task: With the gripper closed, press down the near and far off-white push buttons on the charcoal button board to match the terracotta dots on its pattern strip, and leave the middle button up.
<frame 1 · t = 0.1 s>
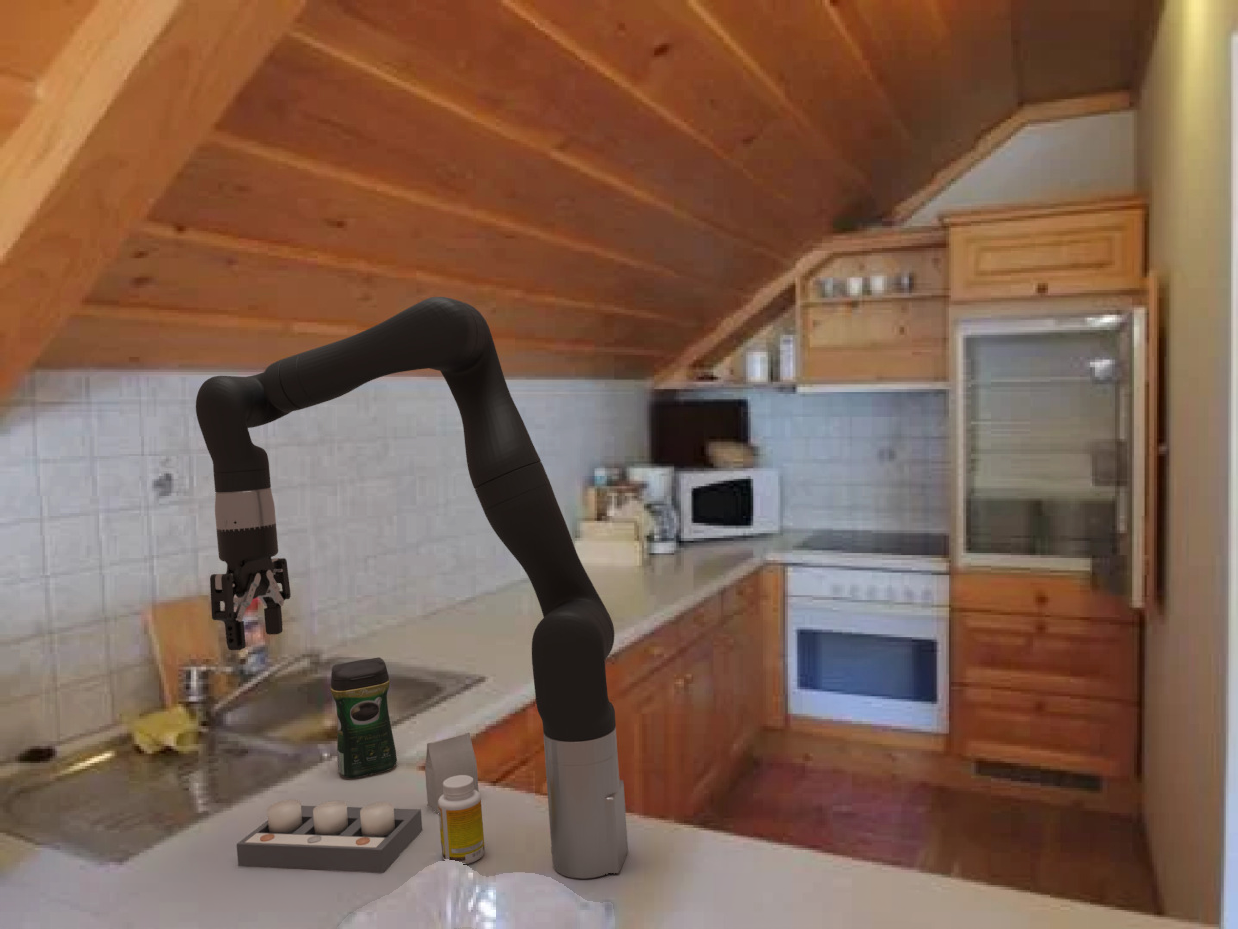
hand: (256, 641, 123), 29 cm above the countertop, tool pointing down, fingers open, 8 cm apart
coffee jar: (367, 770, 153), on the countertop
grey carton box: (453, 804, 136), on the countertop
middle button: (330, 818, 124), point 4 cm above the countertop, slide at 0.0 cm
supplement bottle: (463, 858, 119), on the countertop
far button: (284, 817, 125), point 4 cm above the countertop, slide at 0.0 cm
near button: (377, 820, 123), point 4 cm above the countertop, slide at 0.0 cm
button board: (333, 847, 124), on the countertop
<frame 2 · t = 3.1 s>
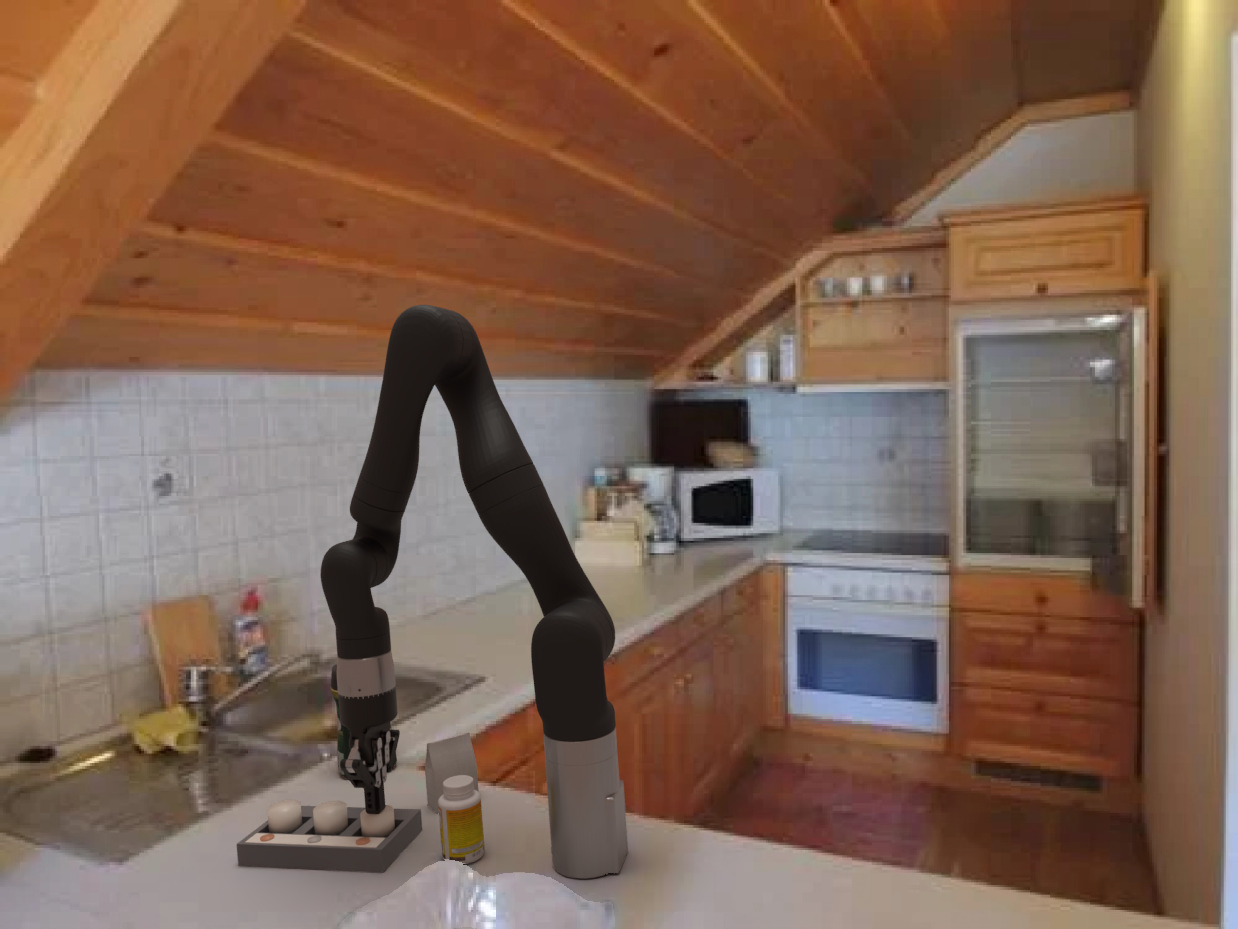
hand: (375, 811, 122), 5 cm above the countertop, tool pointing down, fingers closed
near button: (377, 822, 123), point 4 cm above the countertop, slide at 0.4 cm, touching gripper
everything else where it was.
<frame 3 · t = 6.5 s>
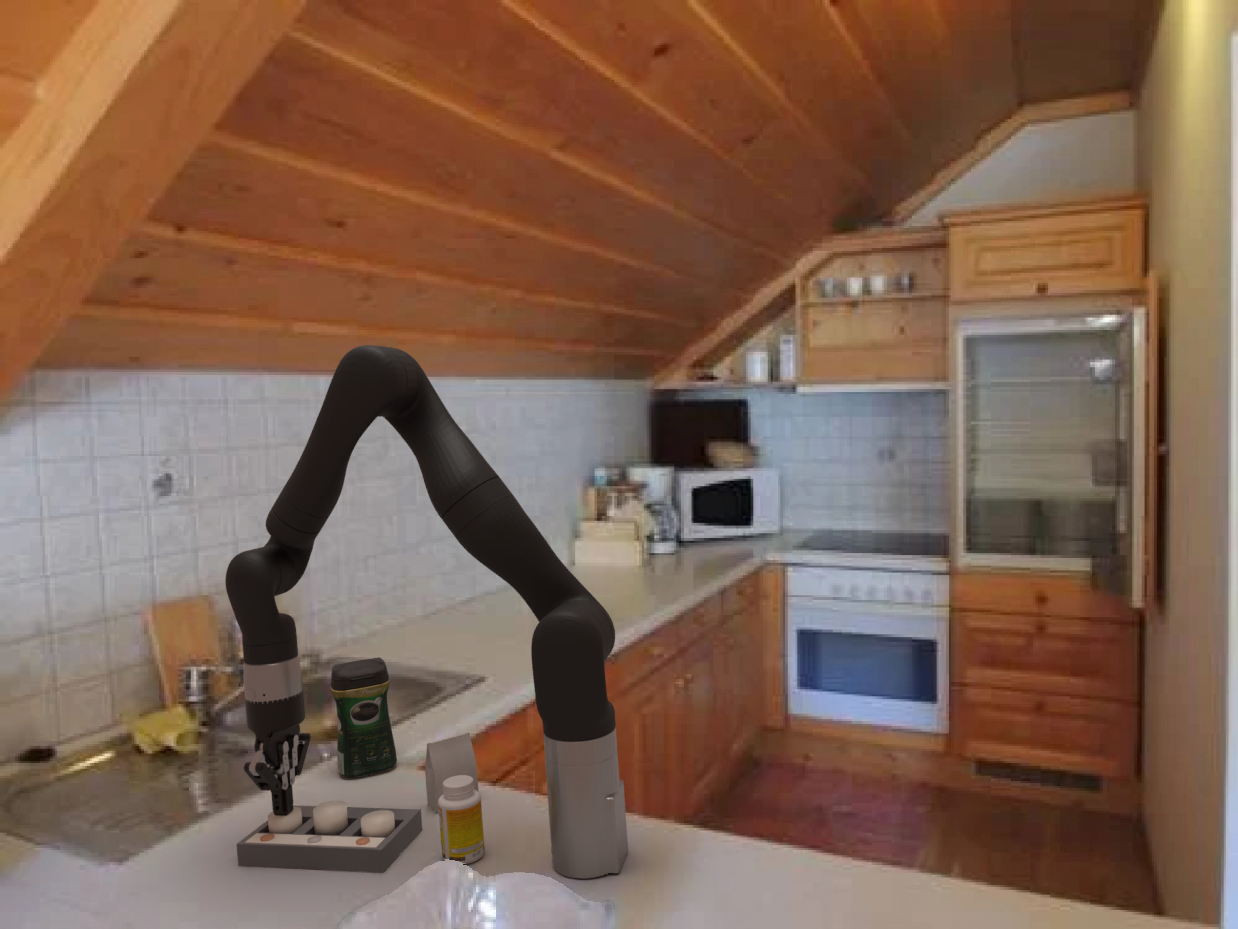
hand: (283, 813, 125), 5 cm above the countertop, tool pointing down, fingers closed
far button: (285, 824, 125), point 3 cm above the countertop, slide at 1.0 cm, touching gripper
near button: (378, 828, 123), point 3 cm above the countertop, slide at 1.1 cm
everything else where it was.
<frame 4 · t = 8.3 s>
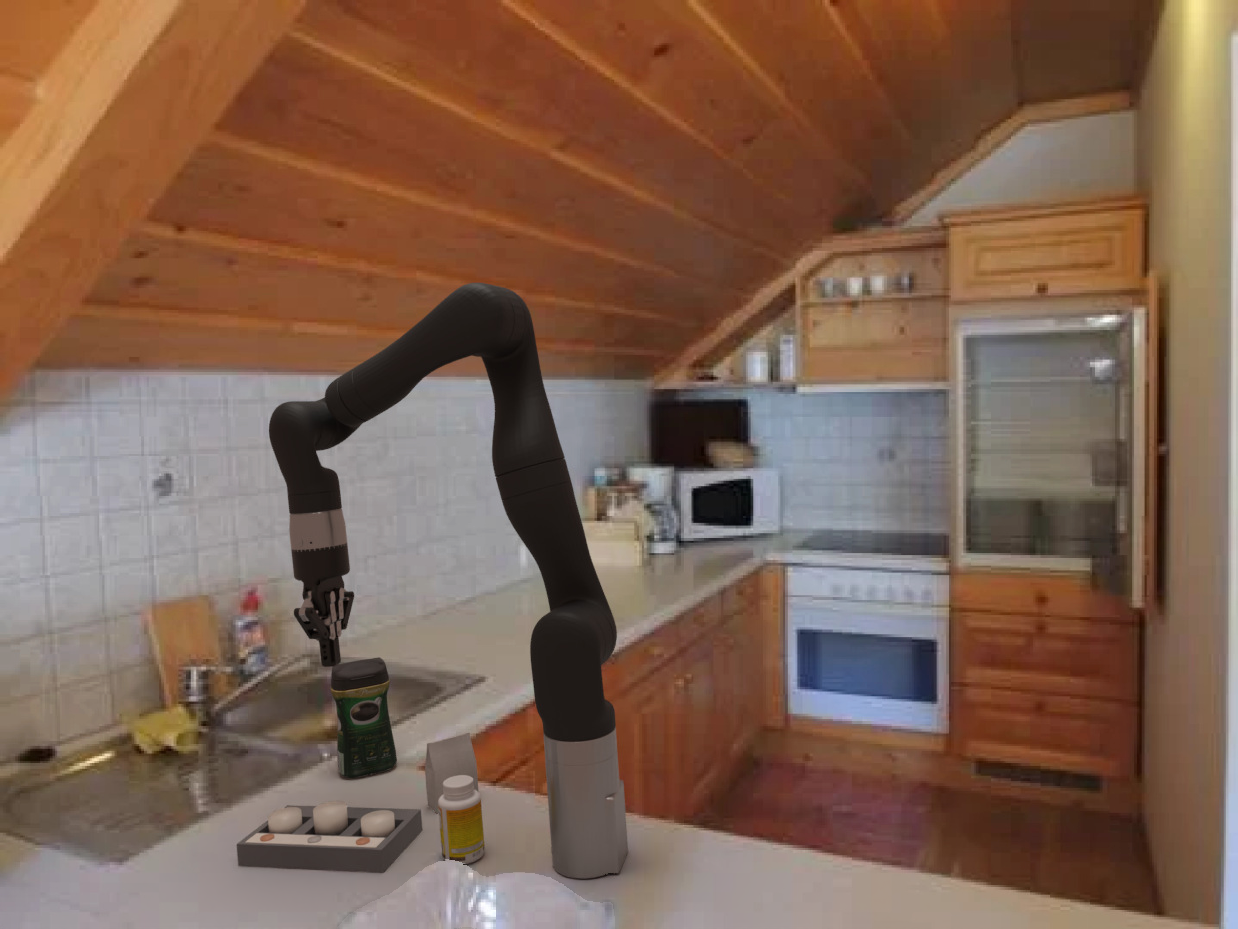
hand: (331, 665, 127), 24 cm above the countertop, tool pointing down, fingers closed
far button: (285, 824, 125), point 3 cm above the countertop, slide at 1.1 cm
everything else where it was.
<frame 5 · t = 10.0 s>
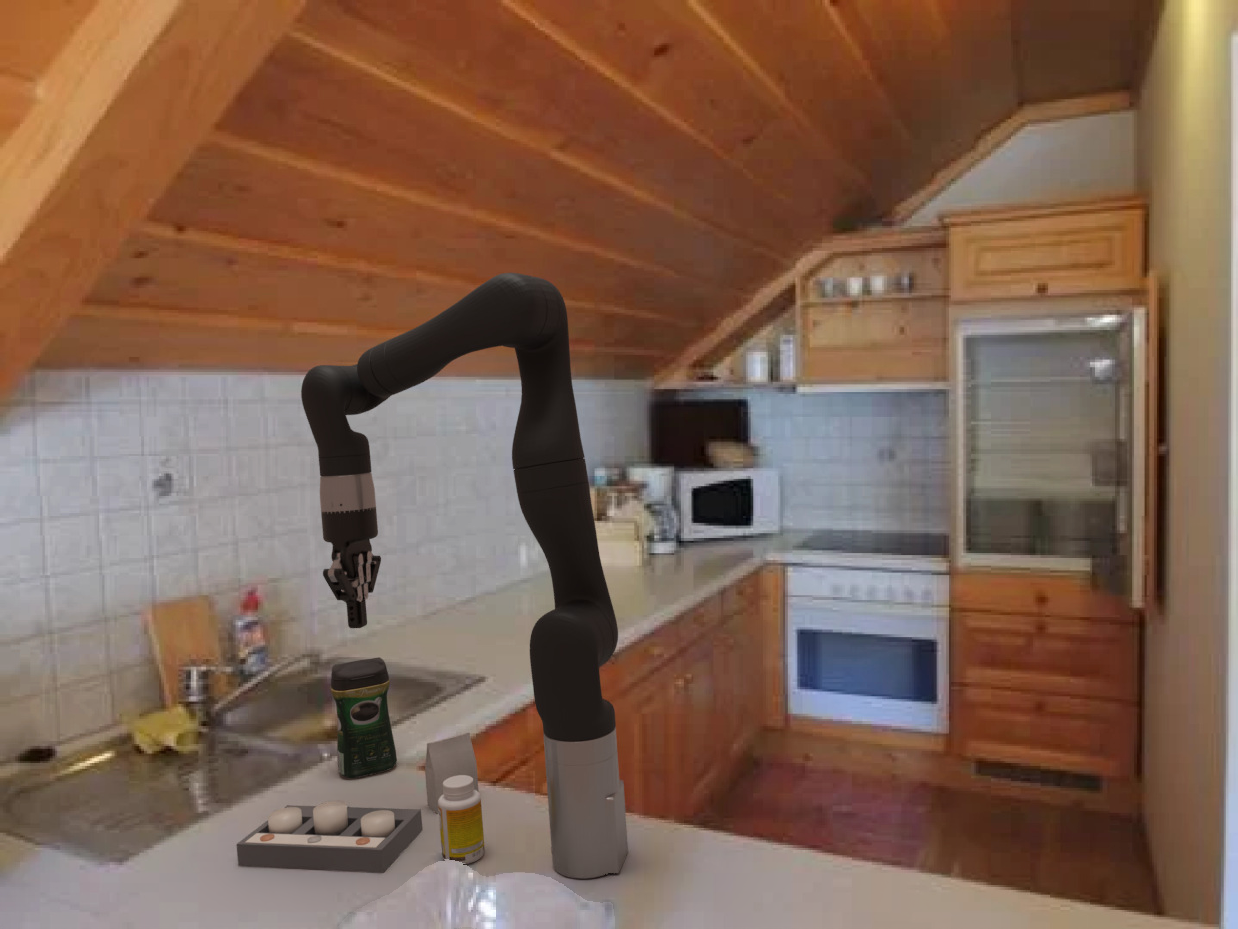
hand: (358, 626, 129), 29 cm above the countertop, tool pointing down, fingers closed
nothing on the countertop moved.
at the end: near button slide at 1.1 cm; far button slide at 1.1 cm; middle button slide at 0.0 cm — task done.
